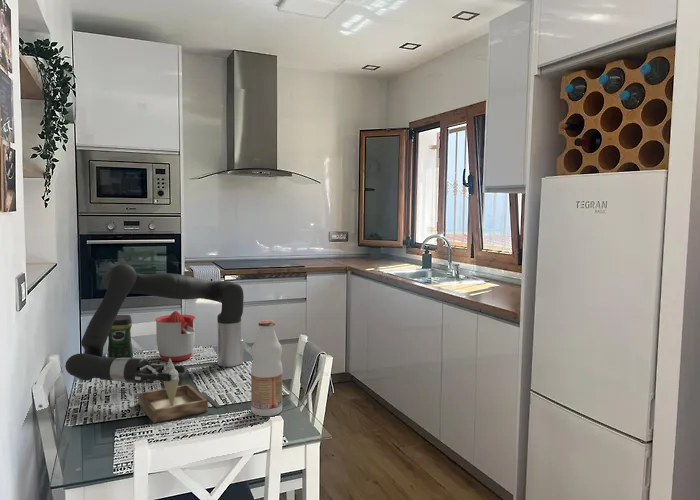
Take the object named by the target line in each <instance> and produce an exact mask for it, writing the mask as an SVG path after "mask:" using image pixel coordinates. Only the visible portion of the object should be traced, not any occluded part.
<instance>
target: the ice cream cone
mask: <svg viewBox="0 0 700 500" xmlns="http://www.w3.org/2000/svg"><path fill="white" fill-rule="evenodd" d="M167 362H168V364H167V366H166V370H165V371H164V370H163V371H164V372H163V371H162V372H163V373H170V374H171V381H162V382H163V386H164V388H165V389H166V392H167V395H168V398H169V401H170V404H171V406H173V403H174V399H175V395H176V390H177V386H179V381H180V378H179V376H180V373H178V371H177V370H176V369H175V367H174V365H173V363H172V361H171V359H170V358H169V361H167Z"/></svg>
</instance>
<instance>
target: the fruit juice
mask: <svg viewBox="0 0 700 500" xmlns="http://www.w3.org/2000/svg"><path fill="white" fill-rule="evenodd" d="M258 327H259V331H258V332H257V335H256V338H255V341H254V343H253V345H252V347H251V356H252V363H251V367H250V368H251V369H250V378H251V379H250V380H251V381H250V387H251V388H250V389H251V391H250V393H251V394H250V397H251V398H250V400H251V401H250V404H251V406H250V408H251V413H252V414H253V415H254V414H255V416H257V415H259V416H258V417H262V416H268V417H272V416H273V417H274V416H277V415H279V414H280V413H281V412H282V411H283V410H282V409H283V363H282V360H281V356H282V352H283V348H282V344H281V343H280V340H279V339H278V336H277V334H276V331H275V327H276V321H275V320H273V319H263V320H262V319H261V320H259V321H258Z"/></svg>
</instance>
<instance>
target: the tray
mask: <svg viewBox="0 0 700 500" xmlns="http://www.w3.org/2000/svg"><path fill="white" fill-rule="evenodd" d="M209 403H210V404H211V405H212V406H213V407H215V409H219V408H222V405H220V404H219V403H218V401H215V400H214V399H213V398H212V397H211V396H210V395H208V394H207V393H206V392H204V391H200V392H198V391H197V390H196V389H195V388H194V387H192V386H191V385H190V383H189V384H188V383H187V384H182V385H178V386H177V390H176V395H175V399H174V403H173V406H171V404H170V401H169V398H168V395H167V392H166V389H165V387H164V388H159V389H155V390H149V391H143V392H138V393H137V404H138V405H140V406H139V408H141V409H142V410H143V412H144V413H145V414H146V416H147V417H148V419H150V421H151V422H152V423H153V424H155V423H160V422H165V421H169V420H174V419H179V418H183V417H188V416H192V415H197V414H202V413H207V412H208V410H209V409H208V407H209Z"/></svg>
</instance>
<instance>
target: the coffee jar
mask: <svg viewBox="0 0 700 500" xmlns="http://www.w3.org/2000/svg"><path fill="white" fill-rule="evenodd" d="M132 325H133V322H132V317H131V314H117V316H116V318H115V321H114V323H113V325H112V328H111V330H110V333H109V335H108V338H107V340H108V342H107V355H106V356H107V357H111V358H134V351H133V344H132V336H131V335H132V334H131V328H132ZM107 357H106V358H107Z"/></svg>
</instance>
